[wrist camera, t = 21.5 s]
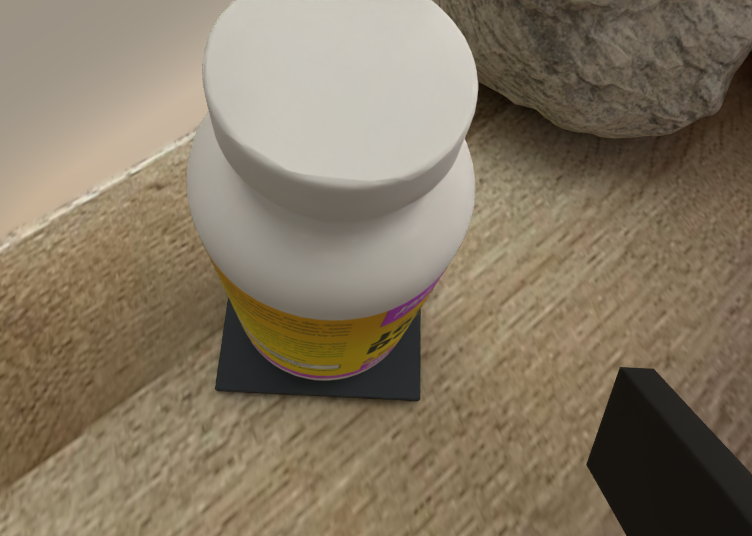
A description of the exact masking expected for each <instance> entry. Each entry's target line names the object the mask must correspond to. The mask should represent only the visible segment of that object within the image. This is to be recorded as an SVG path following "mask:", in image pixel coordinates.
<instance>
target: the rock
mask: <svg viewBox="0 0 752 536" xmlns="http://www.w3.org/2000/svg"><path fill="white" fill-rule="evenodd" d="M432 1H433V2H434V3H435V4H437V5H438V6H439V7H440V8H441V9H442V10H443V11H444V12H445V13H446V14H447V15H448V16H449V17H450V18H451V19H452V20H453V22H454V23H455V24H456V26H457V27H458V29H459V30H460V31H461V33H462V34H463V36H464V37H465V39H466V41H467V43H468V46H469V48H470V50H471V52H472V55H473V59H474V62H475V66H476V70H477V79H478V82H480V83H482V84H484V85H486V86H487V87H489V88H491V89H493V90H495V91H497V92H498V93H500V94H502V95H504V96H505V97H507V98H508V99H509V100H511V101H512V102H513V103H514V104H518V105H521V106H525V107H528V108H534V109H536V110H537V111H539V112H540V113H541V114H542V115H543V116H544V117H545V118H546V119H548V120H550V121H551V122H552V123H553V124H554V125H556V126H558V127H560V128H562V129H566V130H570V131H573V132H584V133H591V134H595V135H597V136H600V137H606V138H634V137H644V136H663V135H668V134H672V133H674V132H676V131H678V130H680V129H682V128H684V127H685V126H687V125H689V124H691V123H693V122H695V121H697V120H699V119H701V118H702V117H705V116H712V115H715V114H716V113H717V112H718V110H719V109H720V108H721V106H722V103H723V100H724V98H725V95H726V93H727V90H728V87H729V85H730V83H731V81H732V78H733V76H734V74H735V72H736V70H737V69H738V68H739V67H740V66H741V64H742V63H743V62H744V60H745V59H746V57H747V56H748V54H749V53H750V51H751V50H752V0H432Z"/></svg>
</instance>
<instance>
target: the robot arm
mask: <svg viewBox="0 0 752 536" xmlns="http://www.w3.org/2000/svg"><path fill="white" fill-rule="evenodd" d="M586 465H587V467H588V468H589V470H590V472H591V474H592V475H593V477H594V479H595V481H596V482H597V484H598V486H599V488H600V490H601V491H602V493H603V495H604V497H605V498H606V500H607V502H608V504H609V505H610V507H611V509H612V511H613V513H614V514H615V516H616V518H617V520H618V521H619V523H620V525H621V527H622V528H623V530H624V532H625V534H626V536H752V474H751V473H750V472H749V471H748V470H747V469H746V467H745V466H744V465H743V464H742V463H741V462H740V461H739V460H738V459H737V458H736V457H735V456H734V455H733V453H732V452H731V451H730V450H729V449H728V448H727V447H726V446H725V445H724V444H723V443H722V442H721V441H720V440H719V438H718V437H717V436H716V435H715V434H714V433H713V432H712V431H711V430H710V429H709V428H708V427H707V426H706V424H705V423H704V422H703V421H702V420H701V419H700V418H699V417H698V416H697V415H696V414H695V413H694V412H693V411H692V409H691V408H690V407H689V406H688V405H687V404H686V403H685V402H684V401H683V400H682V399H681V398H680V397H679V395H678V394H677V393H676V392H675V391H674V390H673V389H672V388H671V387H670V386H669V385H668V384H667V383H666V381H665V380H664V379H663V378H662V377H661V376H660V375H659V374H658V373H657V372H656V371H655V370H654V369H646V368H627V367H620V369H619V372H618V374H617V377H616V380H615V383H614V386H613V389H612V392H611V395H610V398H609V401H608V403H607V406H606V409H605V412H604V415H603V418H602V421H601V424H600V427H599V430H598V432H597V435H596V438H595V441H594V444H593V447H592V450H591V453H590V456H589V459H588V461H587V464H586Z"/></svg>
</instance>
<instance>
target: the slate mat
mask: <svg viewBox="0 0 752 536" xmlns="http://www.w3.org/2000/svg"><path fill="white" fill-rule="evenodd" d="M420 315H421V308H420V310H419V312H418V313H417V315H416V317H415V318H414V319H413V321H412V322H411V324H410V325H409V327H408V328H407V330H406V331H405V333H404V334H403V336H402V337H401V339H400V340H399V341H398V343H397V344H396V345H395V347H394V348H393V349H392V350H391V351H390V353H389V354H388V355H387V356H386V357H385V358H383V359H382V360H381V361H380V362H378V363H377V364H376V365H374V366H373V367H371V368H369V369H368V370H366V371H364V372H362V373H359V374H357V375H354V376H351V377H347V378H343V379H337V380H312V379H306V378H302V377H298V376H295V375H293V374H290V373H288V372H286V371H283V370H282V369H280V368H278V367H276V366H275V365H273V364H272V363H271V362H269V361H268V360H267V359H266V358H265V357H264V356H263V355H262V354H261V353H260V352H259V351H258V350H257V349H256V348H255V346H254V345H253V344H252V342H251V340H250V339H249V337H248V336H247V334H246V332H245V330H244V328H243V326H242V324H241V322H240V320H239V318H238V316H237V314H236V312H235V310H234V308H233V305H232V303H231V301H230V299H229V297H228V303H227V310H226V317H225V324H224V331H223V338H222V344H221V351H220V358H219V365H218V372H217V379H216V386H215V390H217V391H228V392H248V393H268V394H288V395H308V396H328V397H348V398H368V399H388V400H408V401H418V400H420Z"/></svg>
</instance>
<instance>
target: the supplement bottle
mask: <svg viewBox="0 0 752 536" xmlns="http://www.w3.org/2000/svg"><path fill="white" fill-rule="evenodd" d="M202 73H203V85H204V91H205V97H206V101H207V105H208V109H209V111H208V112H207V114H206V115H205V117H204V118H203V120H202V122H201V124H200V126H199V128H198V130H197V132H196V134H195V137H194V140H193V143H192V147H191V151H190V155H189V158H188V166H187V195H188V202H189V207H190V211H191V215H192V219H193V222H194V225H195V227H196V230H197V232H198V234H199V237H200V239H201V241H202V243H203V245H204V248H205V249H206V251H207V253H208V255H209V257H210V259H211V261H212V263H213V265H214V267H215V269H216V272H217V274H218V276H219V278H220V280H221V282H222V284H223V286H224V288H225V290H226V293H227V295H228V297H229V299H230V301H231V303H232V305H233V308H234V310H235V312H236V314H237V316H238V318H239V320H240V322H241V324H242V326H243V328H244V330H245V332H246V334H247V336H248V337H249V339H250V340H251V342H252V344H253V345H254V346H255V348H256V349H257V350H258V351H259V352H260V353H261V354H262V355H263V356H264V357H265V358H266V359H267V360H268V361H269V362H271V363H272V364H273V365H275V366H276V367H278V368H280V369H282V370H283V371H286V372H288V373H290V374H293V375H295V376H298V377H302V378H306V379H312V380H337V379H343V378H347V377H351V376H354V375H357V374H359V373H362V372H364V371H366V370H368V369H369V368H371V367H373V366H374V365H376V364H377V363H378V362H380V361H381V360H382V359H383V358H385V357H386V356H387V355H388V354H389V353H390V351H391V350H392V349H393V348H394V347H395V345H396V344H397V343H398V341H399V340H400V339H401V337H402V336H403V334H404V333H405V331H406V330H407V328H408V327H409V325H410V324H411V322H412V321H413V319H414V318H415V317H416V315H417V313H418V312H419V310H420V308H421V307H422V306H423V304H424V302H425V301H426V299H427V298H428V296H429V294H430V293H431V291H432V290H433V288H434V287H435V285H436V283H437V282H438V280H439V279H440V277H441V276H442V274H443V273H444V271H445V270H446V268H447V267H448V265H449V264H450V262H451V261H452V259H453V258H454V256H455V255H456V253H457V251H458V250H459V248H460V246H461V244H462V242H463V240H464V238H465V236H466V233H467V230H468V227H469V224H470V221H471V217H472V213H473V208H474V201H475V176H474V169H473V163H472V159H471V154H470V151H469V149H468V145H467V143H466V140H465V136H466V134H467V132H468V129H469V127H470V124H471V122H472V119H473V116H474V114H475V108H476V103H477V94H478V79H477V70H476V66H475V62H474V59H473V55H472V52H471V50H470V48H469V46H468V43H467V41H466V39H465V37H464V36H463V34H462V33H461V31H460V30H459V29H458V27H457V26H456V24H455V23H454V22H453V20H452V19H451V18H450V17H449V16H448V15H447V14H446V13H445V12H444V11H443V10H442V9H441V8H440V7H439V6H438V5H437V4H435V3H434V2H433V1H432V0H234V1H233V2H232V3H231V4H230V5H229V6H228V7H227V8H226V9H225V10H224V12H223V13H222V14H221V15H220V17H219V18H218V20H217V22H216V23H215V25H214V27H213V29H212V30H211V32H210V35H209V37H208V40H207V43H206V47H205V51H204V57H203V64H202Z"/></svg>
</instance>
